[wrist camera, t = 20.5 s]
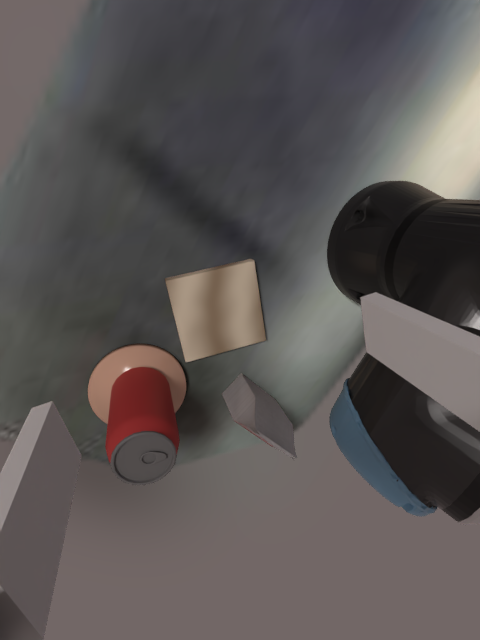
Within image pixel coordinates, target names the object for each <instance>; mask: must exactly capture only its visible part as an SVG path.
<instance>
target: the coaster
mask: <svg viewBox="0 0 480 640" xmlns="http://www.w3.org/2000/svg"><path fill="white" fill-rule="evenodd" d="M137 367H149V368H152V369H155V370H157V371H159V372H160V373H162V374H163V375H164V376H165V377H166V379H167V381H168V382H169V385H170V391H171V396H172V401H173V406H174V412H175V413H176V412H177V410H178V409H179V408H180V406H181V404H182V402H183V400H184V397H185V394H186V379H185V375H184V372H183V369H182V367H181V365H180V363H179V362H178V360H177V359H176V358H175V357H174V356H173V355H172V354H171V353H169V352H168V351H166V350H165V349H163V348H160V347H158V346H154V345H150V344H130V345H125V346H122V347H119V348H117V349H115V350H113V351H111V352H110V353H108V354H107V355H105V356H104V357H103V358H102V359H101V360H100V361H99V362H98V363H97V365H96V366H95V368H94V370H93V371H92V374H91V377H90V381H89V386H88V398H89V402H90V405H91V407H92V409H93V411H94V412H95V414H96V415H97V416H98V417H99V418H100V419H101V420H102V421H104V422H105V423H107V424H108V416H109V406H110V396H111V390H112V386H113V384H114V382H115V380H116V379H117V378H118V377H119V376H120V375H121V374H122V373H124V372H126V371H128V370H130V369H132V368H137Z"/></svg>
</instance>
